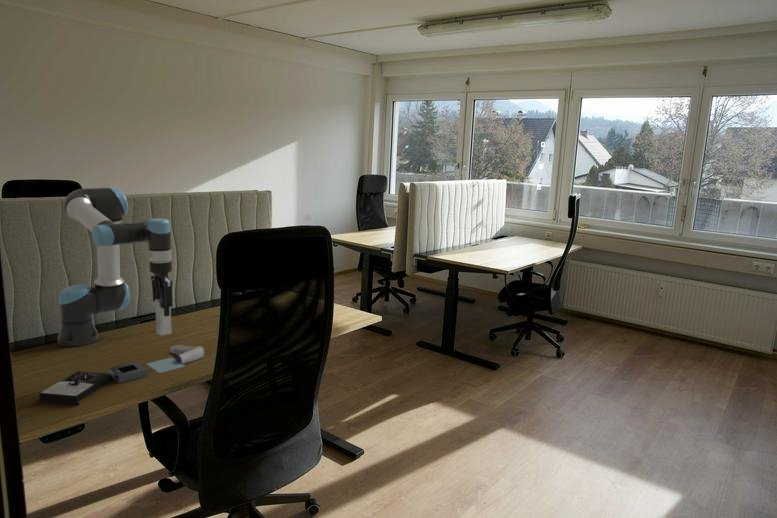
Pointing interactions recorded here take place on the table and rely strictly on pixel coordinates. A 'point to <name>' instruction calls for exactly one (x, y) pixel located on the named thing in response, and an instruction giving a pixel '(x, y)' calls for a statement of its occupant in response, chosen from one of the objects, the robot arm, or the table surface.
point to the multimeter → (74, 388)
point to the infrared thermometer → (187, 353)
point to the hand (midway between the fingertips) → (163, 322)
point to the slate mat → (165, 365)
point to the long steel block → (159, 327)
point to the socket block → (128, 372)
